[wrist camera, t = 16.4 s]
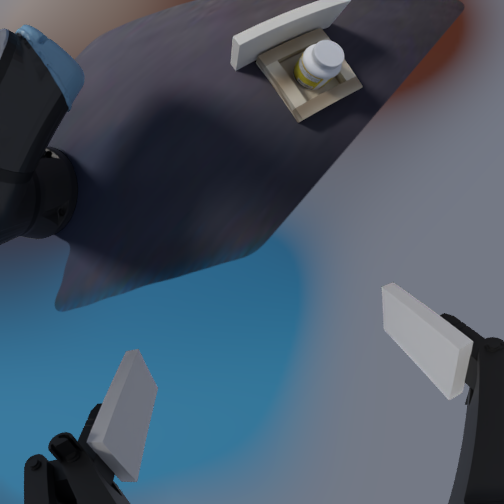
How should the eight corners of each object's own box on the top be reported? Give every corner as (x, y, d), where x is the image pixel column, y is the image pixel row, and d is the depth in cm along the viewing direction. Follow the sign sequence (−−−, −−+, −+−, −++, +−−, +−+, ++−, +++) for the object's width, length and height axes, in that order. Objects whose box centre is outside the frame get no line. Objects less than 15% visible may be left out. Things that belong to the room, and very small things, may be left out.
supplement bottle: (321, 59, 39) (344, 35, 30) (329, 89, 41) (354, 71, 31) (288, 60, 39) (304, 35, 30) (295, 92, 40) (314, 73, 31)
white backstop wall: (329, 26, 38) (351, 0, 28) (236, 70, 39) (239, 45, 30) (323, 20, 38) (344, -8, 28) (230, 63, 39) (232, 36, 29)
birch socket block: (355, 91, 41) (363, 87, 38) (298, 123, 42) (303, 119, 39) (315, 34, 38) (320, 27, 35) (255, 62, 39) (257, 56, 36)
